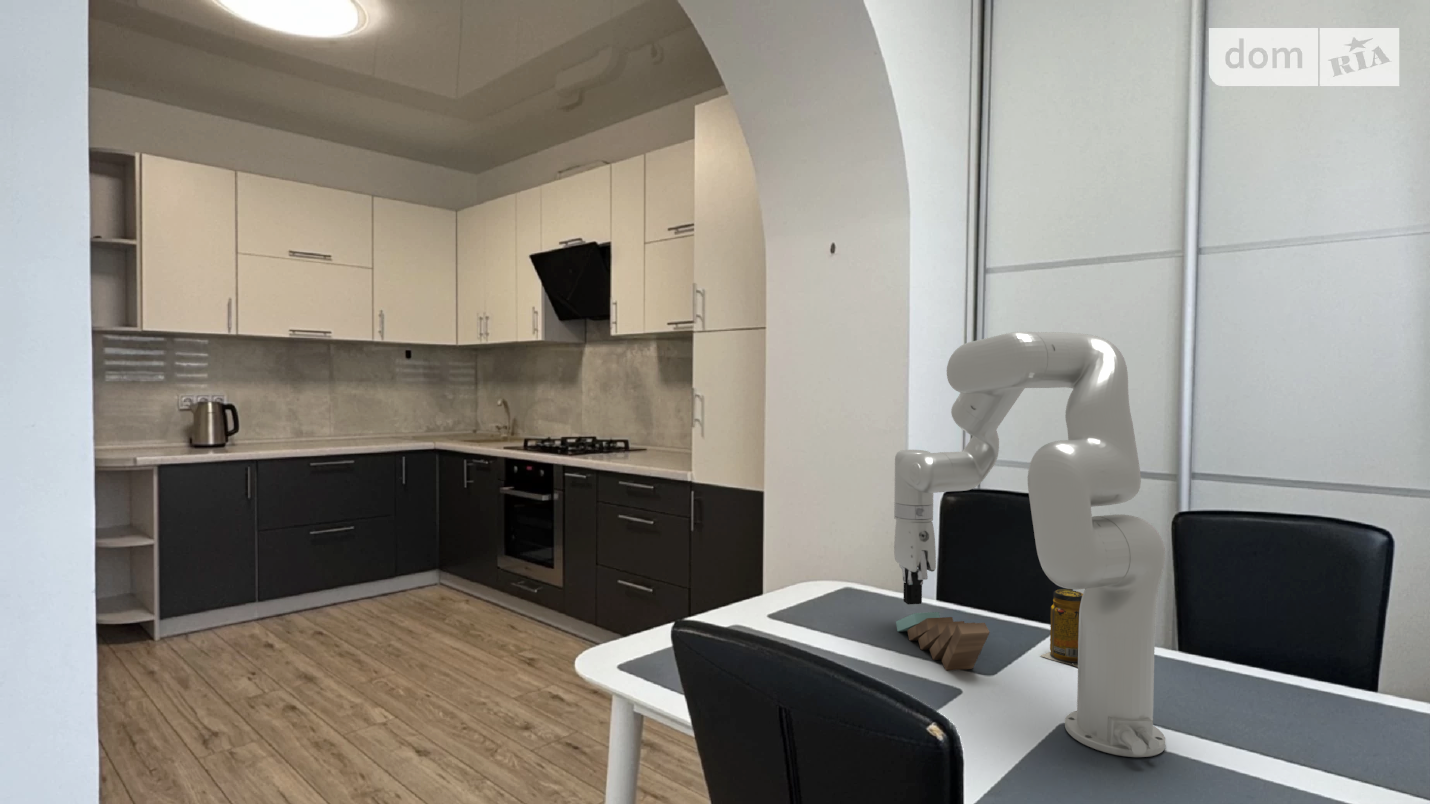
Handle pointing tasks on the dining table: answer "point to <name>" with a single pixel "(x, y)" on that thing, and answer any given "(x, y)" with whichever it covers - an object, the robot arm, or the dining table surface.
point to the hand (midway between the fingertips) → (912, 602)
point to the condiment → (1065, 627)
